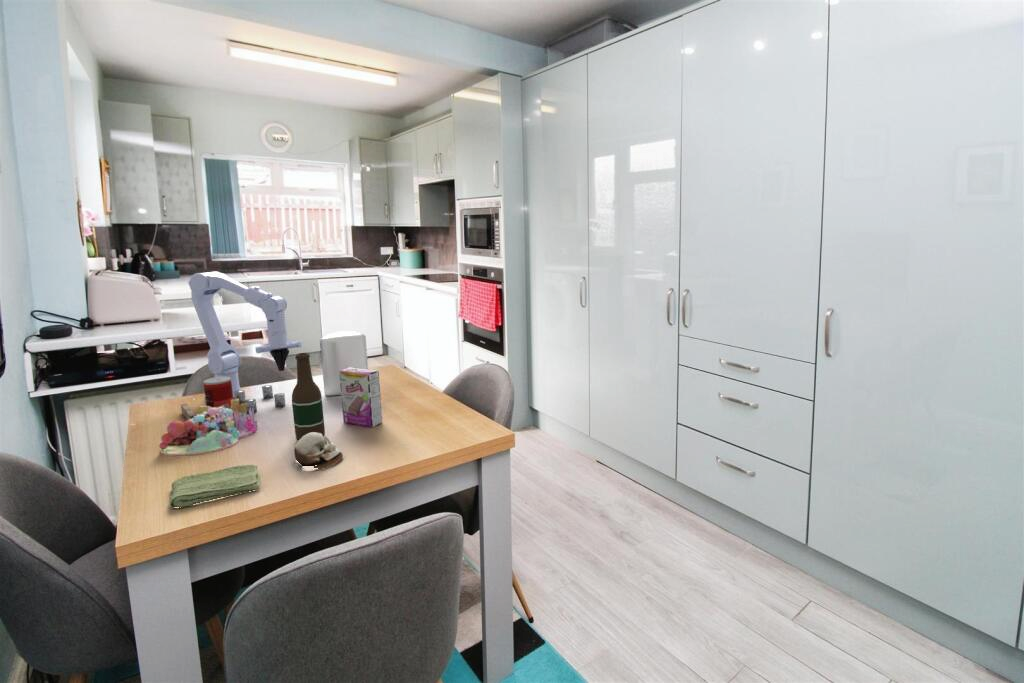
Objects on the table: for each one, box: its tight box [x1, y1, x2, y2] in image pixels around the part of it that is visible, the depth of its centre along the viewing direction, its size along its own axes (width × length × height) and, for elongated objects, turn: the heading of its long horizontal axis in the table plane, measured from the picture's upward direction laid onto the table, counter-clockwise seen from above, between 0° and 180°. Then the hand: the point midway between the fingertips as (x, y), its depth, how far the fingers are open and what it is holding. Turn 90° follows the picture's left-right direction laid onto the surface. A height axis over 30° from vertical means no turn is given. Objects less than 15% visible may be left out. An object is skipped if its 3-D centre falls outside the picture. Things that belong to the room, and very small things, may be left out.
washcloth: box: [168, 464, 261, 509], centre depth 122 cm, size 13×18×3 cm
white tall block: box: [319, 330, 369, 397], centre depth 196 cm, size 15×14×22 cm
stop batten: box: [180, 403, 196, 421], centre depth 170 cm, size 16×2×3 cm, turn 40°
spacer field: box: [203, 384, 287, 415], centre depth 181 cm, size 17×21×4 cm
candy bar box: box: [339, 367, 383, 428], centre depth 161 cm, size 11×5×16 cm, turn 65°
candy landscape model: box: [159, 398, 258, 456], centre depth 154 cm, size 25×24×9 cm
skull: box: [294, 432, 343, 471], centre depth 136 cm, size 12×10×10 cm
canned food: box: [202, 376, 234, 409], centre depth 175 cm, size 8×8×11 cm
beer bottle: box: [291, 352, 326, 442], centre depth 150 cm, size 8×8×24 cm
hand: (281, 370), depth 189 cm, fingers closed
